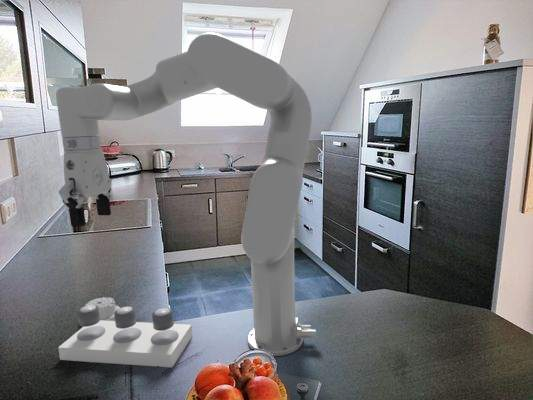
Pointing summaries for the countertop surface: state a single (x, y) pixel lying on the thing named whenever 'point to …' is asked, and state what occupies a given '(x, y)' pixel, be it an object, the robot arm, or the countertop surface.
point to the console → (127, 344)
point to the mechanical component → (105, 308)
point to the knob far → (88, 315)
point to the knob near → (162, 319)
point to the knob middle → (125, 317)
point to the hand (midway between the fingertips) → (92, 220)
